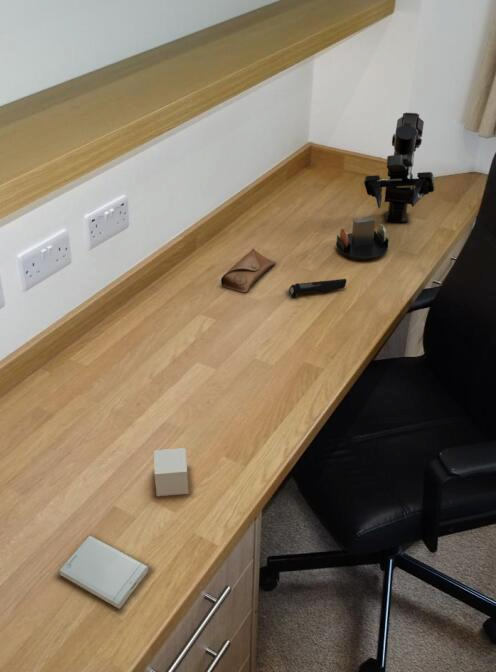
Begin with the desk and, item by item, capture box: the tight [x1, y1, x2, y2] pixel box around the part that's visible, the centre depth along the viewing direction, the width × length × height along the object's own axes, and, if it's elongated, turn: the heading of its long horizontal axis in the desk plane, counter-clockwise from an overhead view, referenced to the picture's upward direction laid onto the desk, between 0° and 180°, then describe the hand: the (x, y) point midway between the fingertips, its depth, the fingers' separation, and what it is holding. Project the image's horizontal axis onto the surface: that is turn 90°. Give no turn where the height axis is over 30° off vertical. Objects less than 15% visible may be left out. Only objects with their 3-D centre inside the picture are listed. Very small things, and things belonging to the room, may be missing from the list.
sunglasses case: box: [220, 248, 276, 293], centre depth 196 cm, size 18×7×7 cm
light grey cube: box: [153, 447, 189, 497], centre depth 133 cm, size 6×6×6 cm
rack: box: [335, 216, 390, 260], centre depth 204 cm, size 15×15×9 cm
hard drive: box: [59, 535, 149, 609], centre depth 118 cm, size 2×8×12 cm
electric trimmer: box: [288, 278, 347, 298], centre depth 188 cm, size 4×16×3 cm, turn 100°
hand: (395, 206), depth 194 cm, fingers open, 9 cm apart
